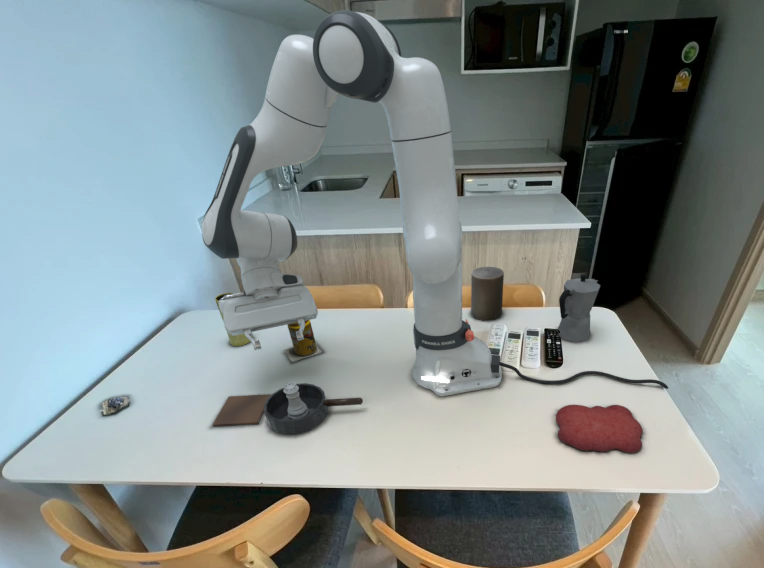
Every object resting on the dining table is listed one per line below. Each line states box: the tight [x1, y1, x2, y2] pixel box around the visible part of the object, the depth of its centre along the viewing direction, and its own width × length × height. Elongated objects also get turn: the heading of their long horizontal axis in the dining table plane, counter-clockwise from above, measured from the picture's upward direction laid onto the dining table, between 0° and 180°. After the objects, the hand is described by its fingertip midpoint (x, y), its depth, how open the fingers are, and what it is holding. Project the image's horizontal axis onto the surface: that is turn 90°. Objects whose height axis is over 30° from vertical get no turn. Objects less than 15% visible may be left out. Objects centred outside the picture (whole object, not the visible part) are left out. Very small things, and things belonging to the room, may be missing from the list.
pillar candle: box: [470, 265, 505, 322], centre depth 126 cm, size 10×10×15 cm
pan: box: [263, 382, 329, 436], centre depth 93 cm, size 13×13×4 cm
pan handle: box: [325, 397, 364, 407], centre depth 92 cm, size 9×2×2 cm, turn 92°
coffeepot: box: [557, 273, 601, 343], centre depth 112 cm, size 15×9×18 cm, turn 129°
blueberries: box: [99, 396, 130, 416], centre depth 98 cm, size 7×8×2 cm
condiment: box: [283, 320, 322, 363], centre depth 112 cm, size 7×8×12 cm
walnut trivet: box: [212, 393, 272, 428], centre depth 96 cm, size 10×10×1 cm
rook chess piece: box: [283, 382, 308, 419], centre depth 91 cm, size 4×4×8 cm
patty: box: [555, 404, 643, 454], centre depth 86 cm, size 18×14×2 cm
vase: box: [214, 292, 251, 347], centre depth 118 cm, size 6×6×14 cm
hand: (279, 344), depth 94 cm, fingers open, 8 cm apart
